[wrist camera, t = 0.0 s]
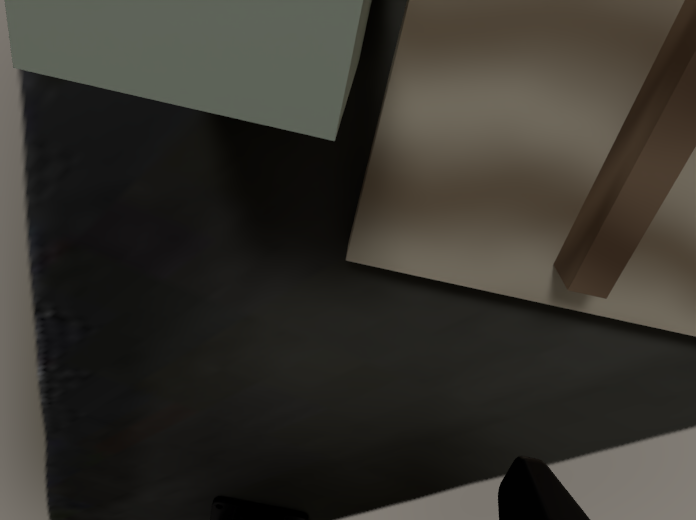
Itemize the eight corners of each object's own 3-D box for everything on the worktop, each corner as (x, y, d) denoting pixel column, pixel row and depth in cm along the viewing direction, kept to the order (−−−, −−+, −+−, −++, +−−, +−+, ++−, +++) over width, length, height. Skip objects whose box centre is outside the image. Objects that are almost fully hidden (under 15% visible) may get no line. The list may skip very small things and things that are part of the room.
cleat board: (730, 328, 24) (779, 379, 21) (348, 244, 23) (342, 285, 20) (1151, -216, 14) (1358, -266, 11) (504, -402, 13) (539, -511, 10)
